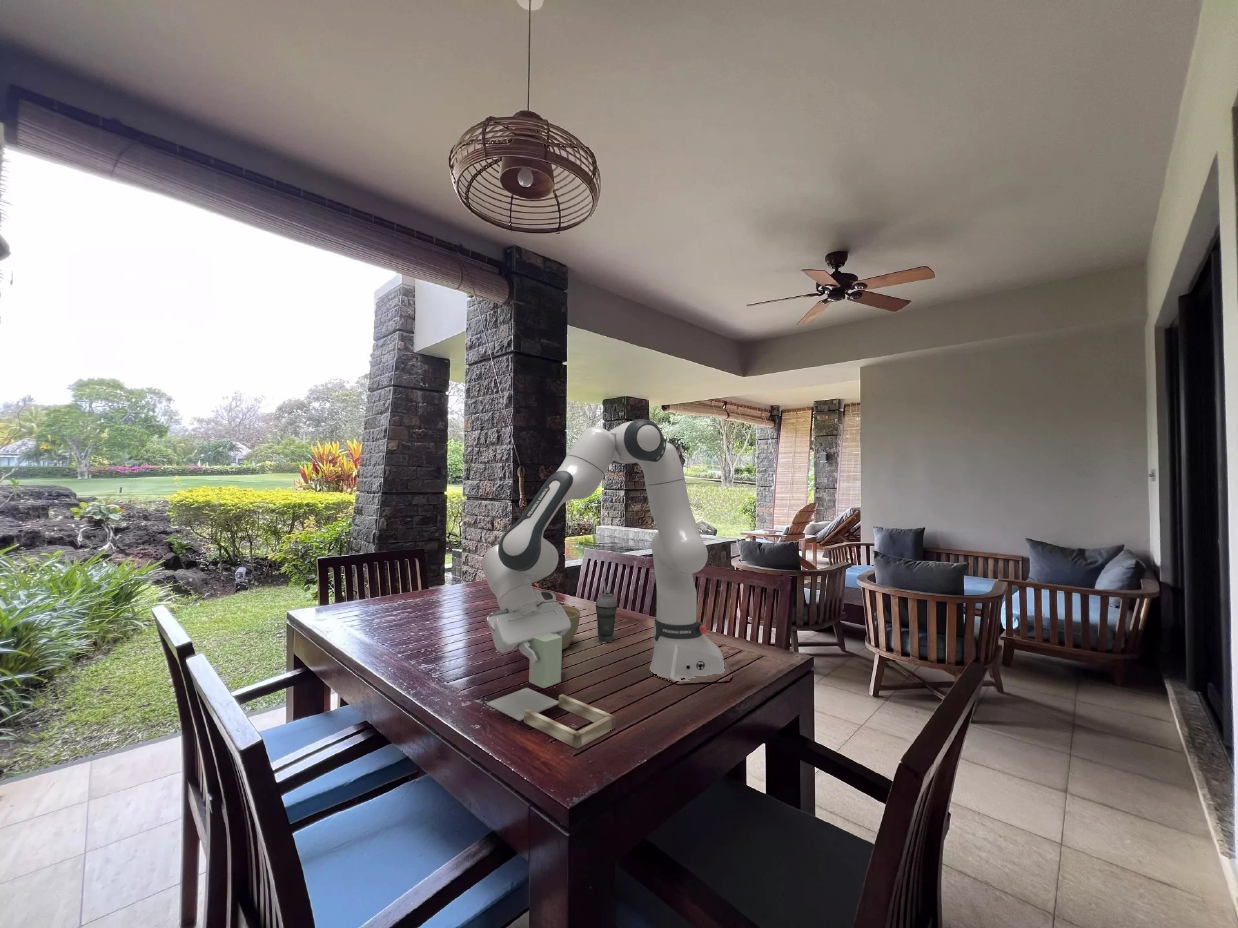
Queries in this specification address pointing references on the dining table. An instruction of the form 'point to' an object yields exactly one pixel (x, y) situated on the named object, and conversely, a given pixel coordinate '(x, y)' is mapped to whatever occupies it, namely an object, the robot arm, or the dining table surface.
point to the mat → (522, 703)
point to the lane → (566, 734)
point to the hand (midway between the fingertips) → (547, 658)
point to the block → (546, 660)
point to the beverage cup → (606, 615)
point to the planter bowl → (574, 619)
